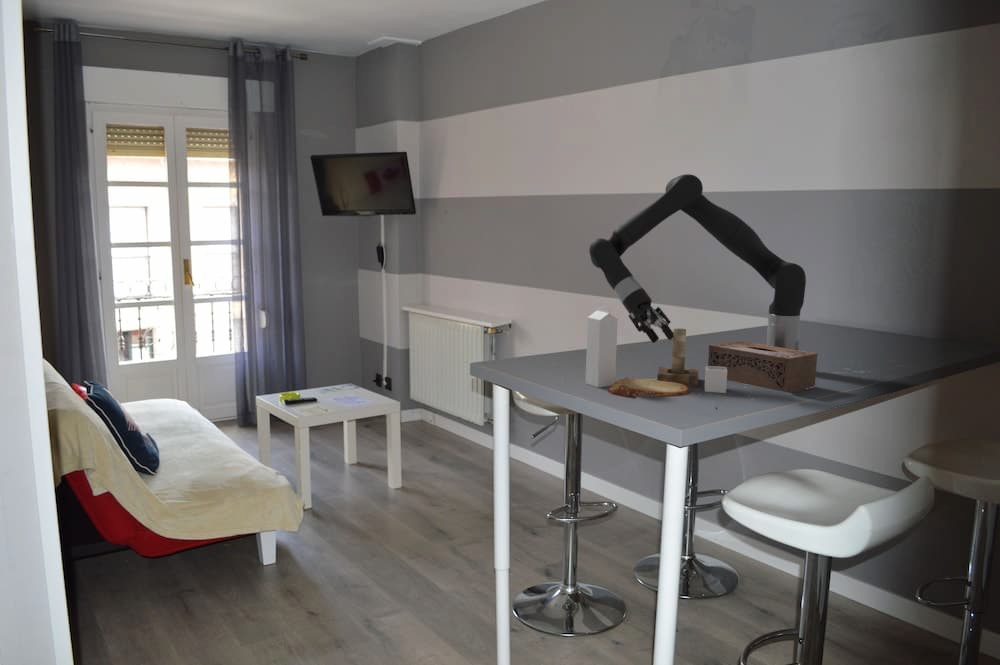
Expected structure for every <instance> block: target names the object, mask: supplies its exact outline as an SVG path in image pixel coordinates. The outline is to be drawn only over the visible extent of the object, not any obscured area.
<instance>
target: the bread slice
mask: <svg viewBox="0 0 1000 665" xmlns="http://www.w3.org/2000/svg"><path fill="white" fill-rule="evenodd" d="M607 393H608V394H611V395H613V396H621V397H627V398H632V399H637V398H638V397H653V398H654V397H656V398H657V397H672V396H673V397H677V396H678V397H679V396H684V395H688V394H689V393H691V390H690V388H689V386H685V385H683V384H679V383H674V382H666V381H657V379H656V380H655V379H654V380H653V379H641V378H639V379H637V378H636V379H635V378H630V377H629V378H628V377H624V378H623V379H622V378H621V379H618V380H617V381H616V380H615V383H614V384H612V385H611V386H609V387H608V389H607Z"/></svg>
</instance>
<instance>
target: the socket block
mask: <svg viewBox="0 0 1000 665" xmlns="http://www.w3.org/2000/svg"><path fill="white" fill-rule="evenodd" d="M656 381H666V382H674V383H679V384H683V385H685V386H687V387H688V388H689V387H690V388H691V387H692V388H698V387H699V369H698V368H690V367H689V368H686V367H684V374H677V373H672V366H671V367H669V366H659V367H658V370H657V379H656Z"/></svg>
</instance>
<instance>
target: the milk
mask: <svg viewBox="0 0 1000 665" xmlns="http://www.w3.org/2000/svg"><path fill="white" fill-rule="evenodd" d="M586 328H587V331H586V335H587V336H586V361H585V365H586V366H585V384H587V385H589V386H591V387H595V388H609V387H610V386H611V385H612V384H614V383H615V382H616V375H617V374H616V373H617V371H616V370H617V369H616V368H617V345H618V318H617V317H616V316H615V315H612V314H611V313H610V307H607V306H602V305H596V310H595V311H594V312H593V313H591V314H590V315H588V317H587V327H586Z"/></svg>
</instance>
